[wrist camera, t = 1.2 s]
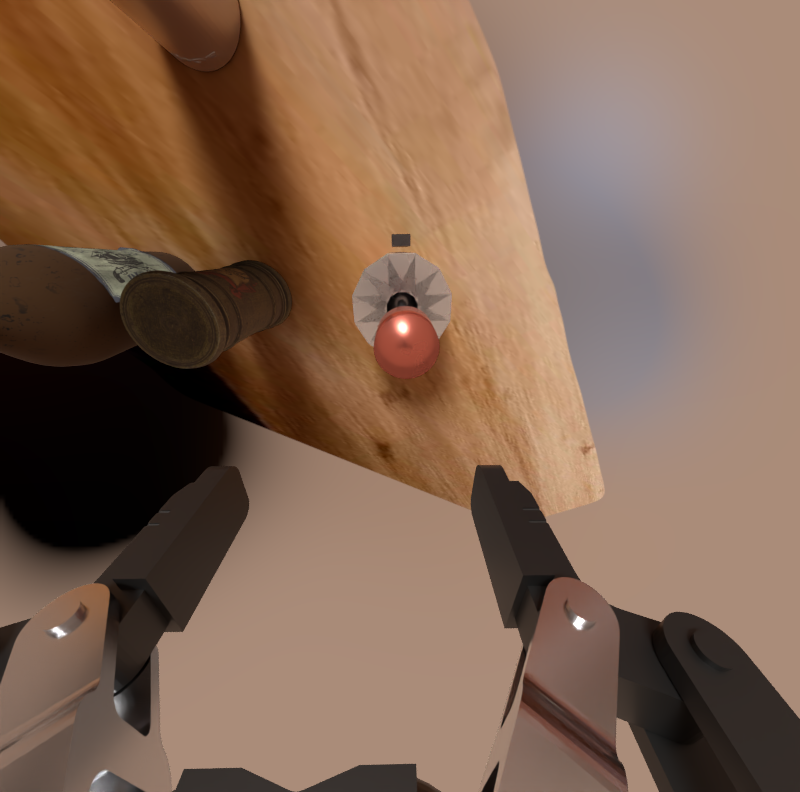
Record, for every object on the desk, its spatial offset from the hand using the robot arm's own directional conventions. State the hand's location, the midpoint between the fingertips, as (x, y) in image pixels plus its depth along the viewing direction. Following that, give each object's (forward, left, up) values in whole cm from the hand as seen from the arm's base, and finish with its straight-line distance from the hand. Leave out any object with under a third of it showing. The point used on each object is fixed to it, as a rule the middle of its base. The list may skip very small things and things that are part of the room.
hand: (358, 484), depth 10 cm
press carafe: (-2, +2, -35) cm, 35 cm away
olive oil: (-3, -30, -36) cm, 47 cm away
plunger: (-2, +2, -26) cm, 27 cm away
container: (-2, -18, -36) cm, 40 cm away
